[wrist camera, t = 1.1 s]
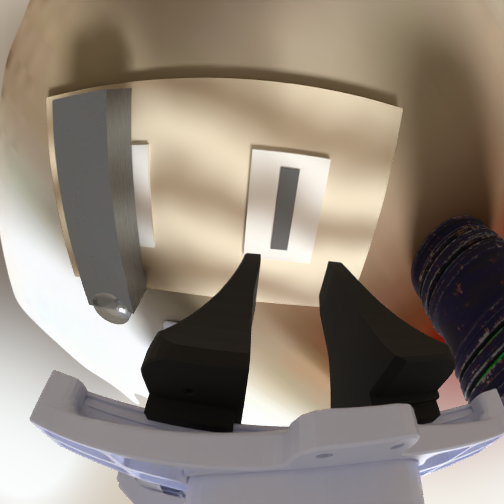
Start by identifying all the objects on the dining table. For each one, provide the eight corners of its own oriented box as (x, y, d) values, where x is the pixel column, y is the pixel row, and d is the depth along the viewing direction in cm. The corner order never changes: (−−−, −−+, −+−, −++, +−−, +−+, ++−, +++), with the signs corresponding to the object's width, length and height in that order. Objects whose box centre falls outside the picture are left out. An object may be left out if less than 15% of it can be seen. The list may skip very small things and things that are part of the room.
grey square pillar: (154, 293, 23) (137, 328, 20) (114, 286, 23) (94, 319, 20) (140, 87, 15) (106, 89, 11) (90, 94, 15) (52, 100, 11)
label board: (345, 302, 24) (348, 311, 23) (78, 271, 24) (73, 278, 23) (397, 107, 15) (405, 109, 14) (52, 96, 15) (43, 98, 14)
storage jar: (444, 197, 18) (566, 326, 6) (502, 232, 19) (589, 334, 7) (391, 292, 24) (447, 439, 11) (455, 307, 24) (509, 419, 12)
